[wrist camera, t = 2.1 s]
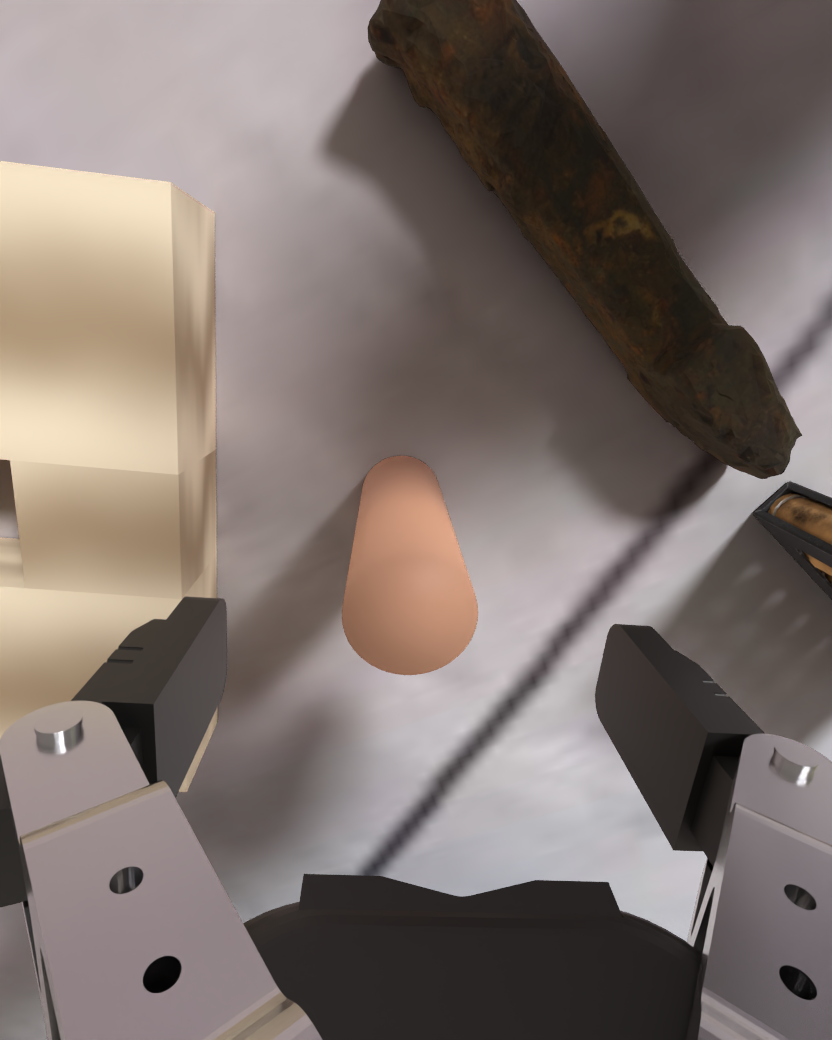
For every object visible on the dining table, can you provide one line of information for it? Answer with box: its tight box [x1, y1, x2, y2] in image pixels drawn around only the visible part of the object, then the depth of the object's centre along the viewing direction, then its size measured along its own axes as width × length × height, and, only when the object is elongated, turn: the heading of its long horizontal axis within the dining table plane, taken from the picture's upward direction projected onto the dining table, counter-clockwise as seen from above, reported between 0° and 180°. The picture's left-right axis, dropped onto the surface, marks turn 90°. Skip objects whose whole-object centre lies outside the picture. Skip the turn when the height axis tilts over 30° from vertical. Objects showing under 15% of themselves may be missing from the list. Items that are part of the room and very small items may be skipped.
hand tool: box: [368, 0, 802, 479], centre depth 18 cm, size 19×4×5 cm, turn 39°
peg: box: [342, 456, 478, 675], centre depth 17 cm, size 3×3×10 cm
